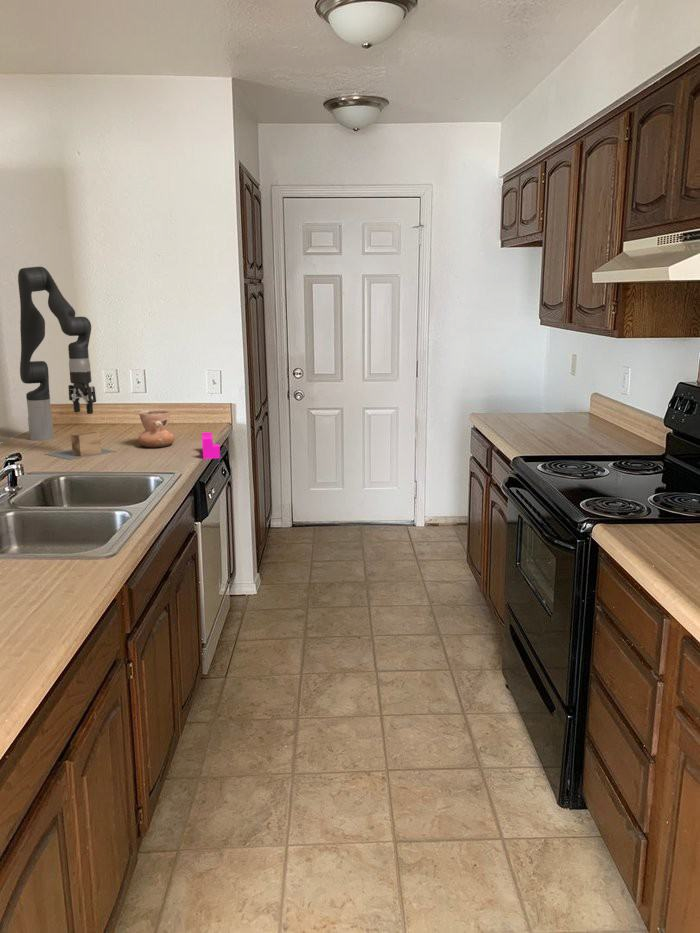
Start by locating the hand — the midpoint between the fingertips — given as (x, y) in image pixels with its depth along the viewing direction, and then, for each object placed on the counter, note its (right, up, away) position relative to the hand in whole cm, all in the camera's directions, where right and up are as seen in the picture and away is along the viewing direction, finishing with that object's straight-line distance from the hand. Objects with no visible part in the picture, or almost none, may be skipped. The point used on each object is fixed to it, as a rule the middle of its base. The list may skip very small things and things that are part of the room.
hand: (83, 412), depth 283 cm
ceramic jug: (+23, -12, +20) cm, 33 cm away
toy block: (+48, -16, +3) cm, 51 cm away
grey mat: (-3, -15, +6) cm, 17 cm away
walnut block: (0, -16, +4) cm, 16 cm away
